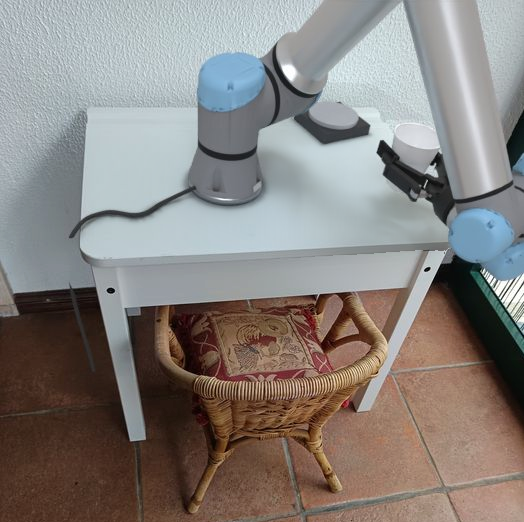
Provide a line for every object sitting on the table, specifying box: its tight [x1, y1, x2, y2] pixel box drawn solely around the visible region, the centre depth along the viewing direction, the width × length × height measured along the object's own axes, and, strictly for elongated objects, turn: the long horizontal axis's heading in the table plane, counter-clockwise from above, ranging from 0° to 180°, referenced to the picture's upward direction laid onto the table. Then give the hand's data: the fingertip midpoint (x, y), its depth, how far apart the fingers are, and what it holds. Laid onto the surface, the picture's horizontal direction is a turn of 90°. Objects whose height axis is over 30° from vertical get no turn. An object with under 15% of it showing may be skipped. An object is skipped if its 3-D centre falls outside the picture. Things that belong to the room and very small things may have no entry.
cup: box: [385, 121, 441, 194], centre depth 97 cm, size 10×10×11 cm
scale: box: [293, 100, 371, 145], centre depth 122 cm, size 14×13×3 cm
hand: (399, 144), depth 99 cm, fingers closed on cup, 8 cm apart
